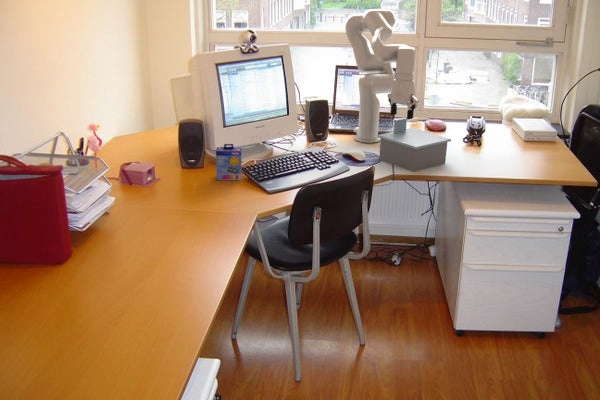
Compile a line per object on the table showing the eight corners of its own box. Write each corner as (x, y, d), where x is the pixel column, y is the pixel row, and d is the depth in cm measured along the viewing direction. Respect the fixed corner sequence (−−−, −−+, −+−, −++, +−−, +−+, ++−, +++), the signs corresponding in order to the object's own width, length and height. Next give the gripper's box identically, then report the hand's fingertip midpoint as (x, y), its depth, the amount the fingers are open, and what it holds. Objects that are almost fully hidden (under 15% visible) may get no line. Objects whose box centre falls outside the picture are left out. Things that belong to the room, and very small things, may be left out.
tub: (379, 159, 290) (380, 137, 286) (410, 152, 301) (412, 130, 298) (413, 171, 275) (415, 148, 271) (445, 163, 287) (447, 140, 283)
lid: (377, 139, 286) (378, 121, 284) (412, 132, 299) (413, 114, 297) (415, 152, 271) (417, 132, 268) (450, 143, 283) (452, 125, 281)
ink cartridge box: (216, 180, 259) (215, 144, 254) (216, 176, 264) (215, 140, 259) (241, 180, 260) (241, 144, 254) (241, 176, 265) (241, 140, 260)
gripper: (383, 74, 286) (381, 114, 291) (413, 80, 273) (410, 121, 279) (395, 73, 290) (393, 112, 296) (425, 79, 277) (422, 119, 283)
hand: (401, 116), depth 287 cm, fingers open, 9 cm apart
